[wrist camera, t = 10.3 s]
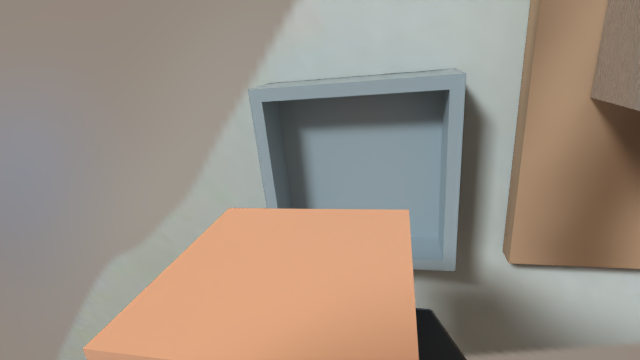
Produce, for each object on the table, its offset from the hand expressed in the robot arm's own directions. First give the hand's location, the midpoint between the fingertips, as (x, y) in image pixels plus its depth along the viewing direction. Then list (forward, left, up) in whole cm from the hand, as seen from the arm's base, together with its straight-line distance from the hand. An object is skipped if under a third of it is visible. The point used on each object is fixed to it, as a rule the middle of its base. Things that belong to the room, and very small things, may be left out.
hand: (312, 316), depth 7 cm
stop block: (0, 0, -1) cm, 1 cm away
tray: (0, 0, -10) cm, 10 cm away
